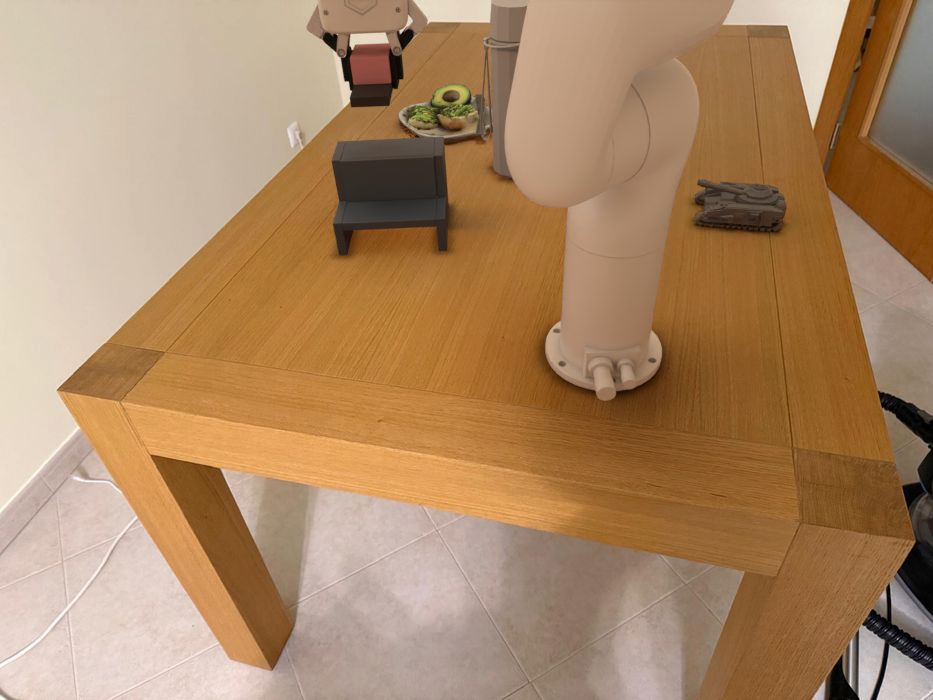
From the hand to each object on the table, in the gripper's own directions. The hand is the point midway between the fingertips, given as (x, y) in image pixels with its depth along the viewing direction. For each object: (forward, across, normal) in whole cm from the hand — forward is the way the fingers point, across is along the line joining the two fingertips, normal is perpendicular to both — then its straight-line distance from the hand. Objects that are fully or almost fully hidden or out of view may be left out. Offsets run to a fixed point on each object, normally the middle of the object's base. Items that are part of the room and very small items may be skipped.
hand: (375, 84), depth 86 cm
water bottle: (+20, +18, +15) cm, 31 cm away
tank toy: (+20, +49, -2) cm, 53 cm away
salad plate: (+20, +8, +35) cm, 41 cm away
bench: (+20, +1, -2) cm, 20 cm away
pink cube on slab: (0, 0, -2) cm, 2 cm away
